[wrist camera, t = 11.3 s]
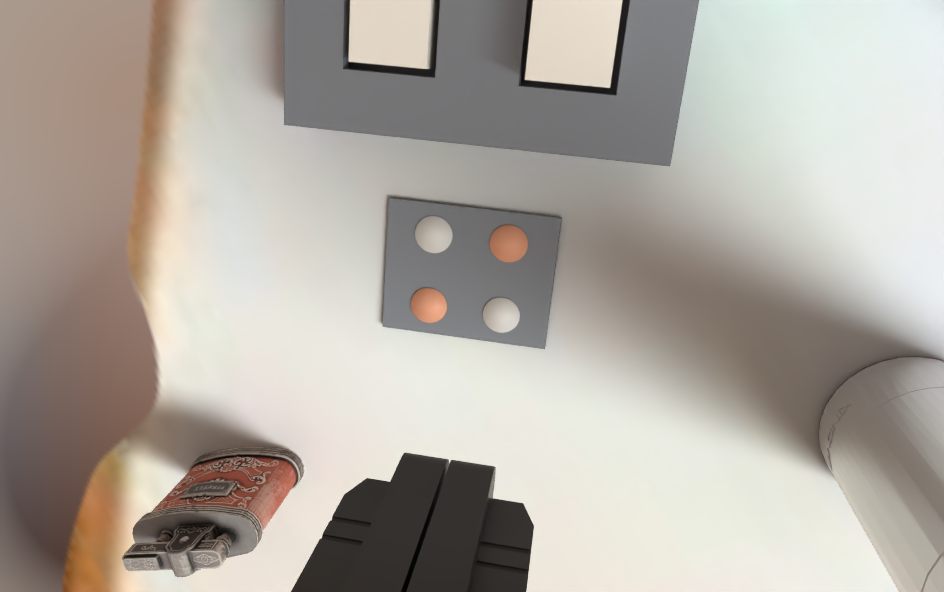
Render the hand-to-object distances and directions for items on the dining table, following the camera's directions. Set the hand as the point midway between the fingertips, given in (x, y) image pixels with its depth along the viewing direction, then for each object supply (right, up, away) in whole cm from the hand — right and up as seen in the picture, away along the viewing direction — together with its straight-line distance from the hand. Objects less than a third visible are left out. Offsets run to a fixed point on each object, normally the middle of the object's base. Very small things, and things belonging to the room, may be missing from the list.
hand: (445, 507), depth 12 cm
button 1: (+5, +16, +24) cm, 30 cm away
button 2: (-3, +18, +26) cm, 32 cm away
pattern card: (0, +5, +31) cm, 32 cm away
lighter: (-15, -8, +39) cm, 42 cm away
